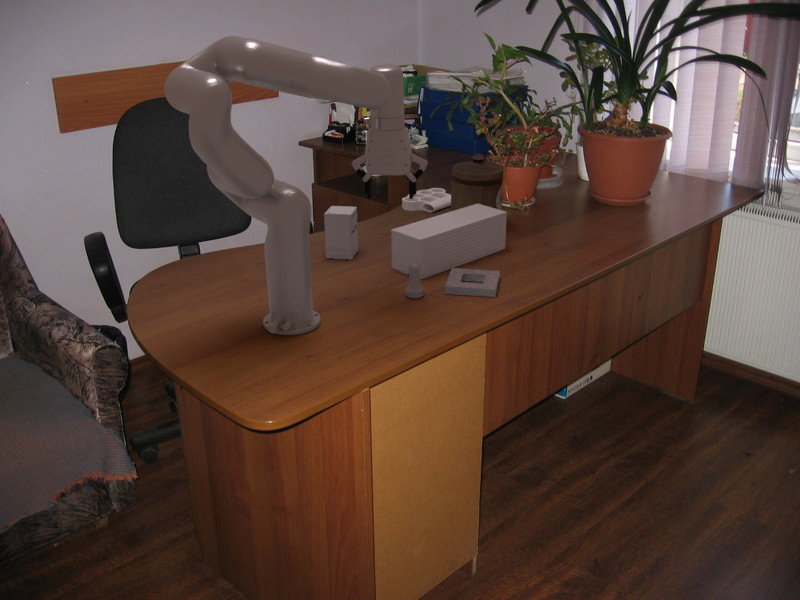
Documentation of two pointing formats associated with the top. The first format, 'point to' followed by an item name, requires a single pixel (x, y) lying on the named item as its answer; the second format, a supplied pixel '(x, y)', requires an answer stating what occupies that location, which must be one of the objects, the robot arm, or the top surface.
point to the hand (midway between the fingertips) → (391, 197)
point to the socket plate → (472, 289)
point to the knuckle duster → (427, 200)
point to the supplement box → (341, 232)
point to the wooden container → (477, 184)
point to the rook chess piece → (414, 282)
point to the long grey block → (449, 239)
